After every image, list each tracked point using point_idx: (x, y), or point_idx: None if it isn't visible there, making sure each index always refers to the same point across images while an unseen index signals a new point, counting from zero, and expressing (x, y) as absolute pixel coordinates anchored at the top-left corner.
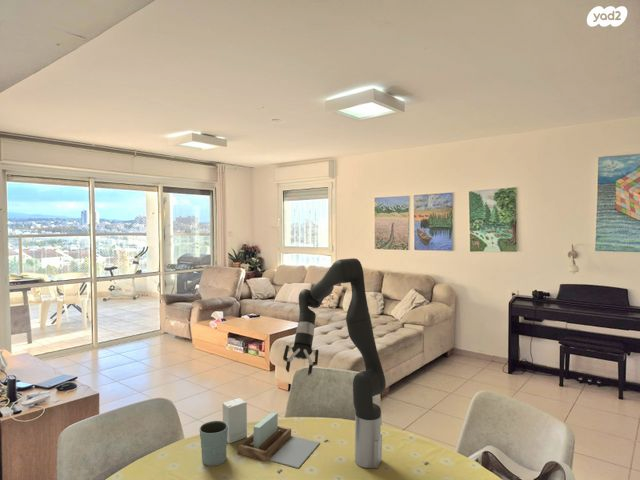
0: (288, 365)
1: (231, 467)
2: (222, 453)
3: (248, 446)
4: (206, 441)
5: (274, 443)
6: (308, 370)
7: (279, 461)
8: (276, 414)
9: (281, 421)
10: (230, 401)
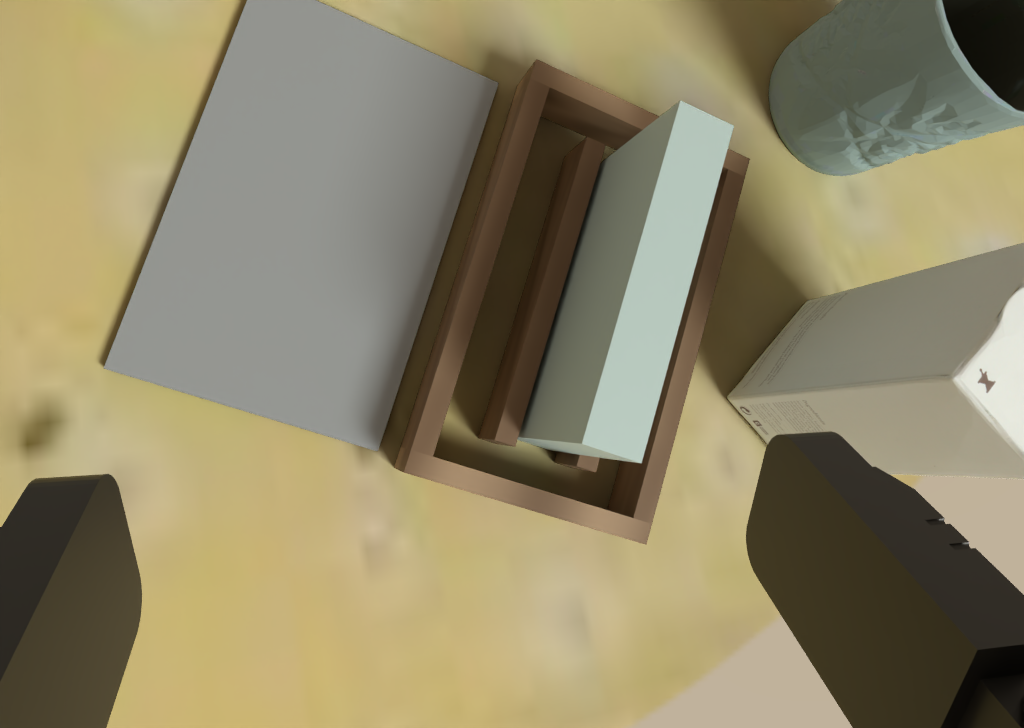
0: (920, 535)
1: (708, 11)
2: (814, 30)
3: None
4: None
5: (501, 197)
6: (62, 550)
7: (417, 56)
8: (586, 416)
9: (526, 725)
10: None
